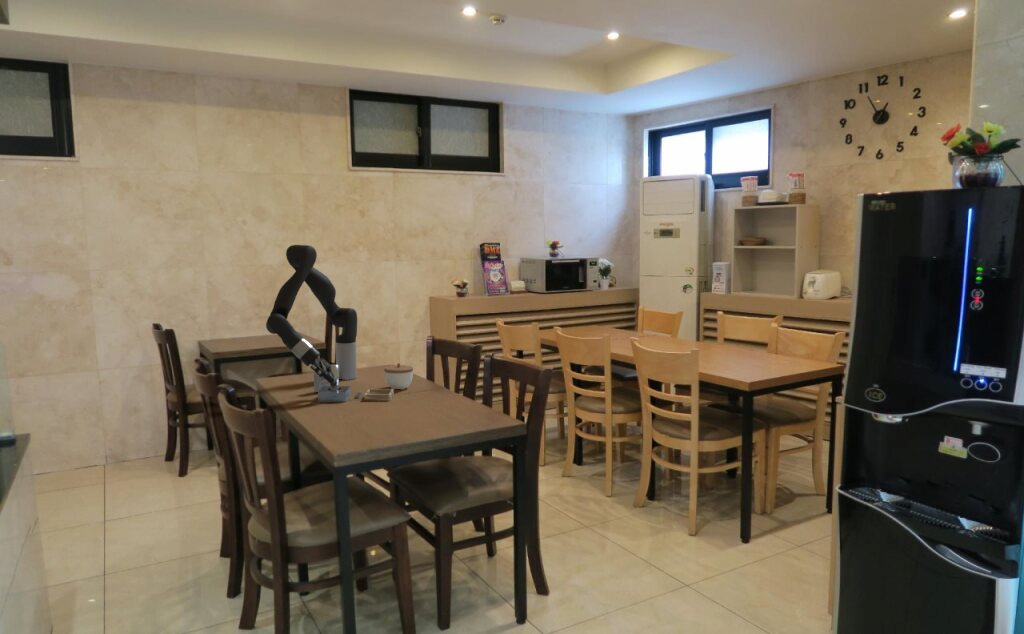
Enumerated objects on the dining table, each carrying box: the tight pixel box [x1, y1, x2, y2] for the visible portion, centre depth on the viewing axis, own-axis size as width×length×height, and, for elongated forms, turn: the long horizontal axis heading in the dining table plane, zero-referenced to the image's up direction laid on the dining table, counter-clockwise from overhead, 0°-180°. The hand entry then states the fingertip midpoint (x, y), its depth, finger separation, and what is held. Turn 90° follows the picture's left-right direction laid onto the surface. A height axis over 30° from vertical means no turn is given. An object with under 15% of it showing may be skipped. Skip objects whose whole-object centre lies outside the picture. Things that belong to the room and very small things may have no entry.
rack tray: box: [363, 388, 395, 402], centre depth 278 cm, size 10×10×2 cm
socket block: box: [317, 385, 352, 403], centre depth 276 cm, size 11×11×4 cm
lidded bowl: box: [383, 362, 414, 390], centre depth 297 cm, size 13×13×11 cm
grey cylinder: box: [329, 363, 340, 391], centre depth 276 cm, size 4×4×14 cm
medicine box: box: [313, 372, 330, 393], centre depth 290 cm, size 8×4×9 cm, turn 143°
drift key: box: [354, 392, 363, 399], centre depth 281 cm, size 7×2×1 cm, turn 3°
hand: (335, 379), depth 276 cm, fingers open, 8 cm apart
